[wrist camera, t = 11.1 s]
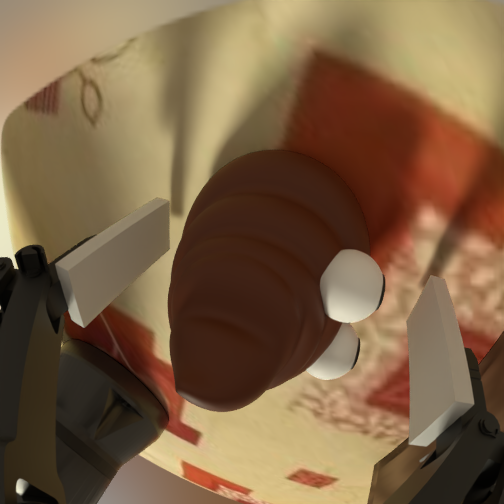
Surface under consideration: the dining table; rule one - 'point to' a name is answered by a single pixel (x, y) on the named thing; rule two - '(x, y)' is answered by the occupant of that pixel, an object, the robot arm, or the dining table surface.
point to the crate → (407, 456)
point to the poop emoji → (268, 280)
